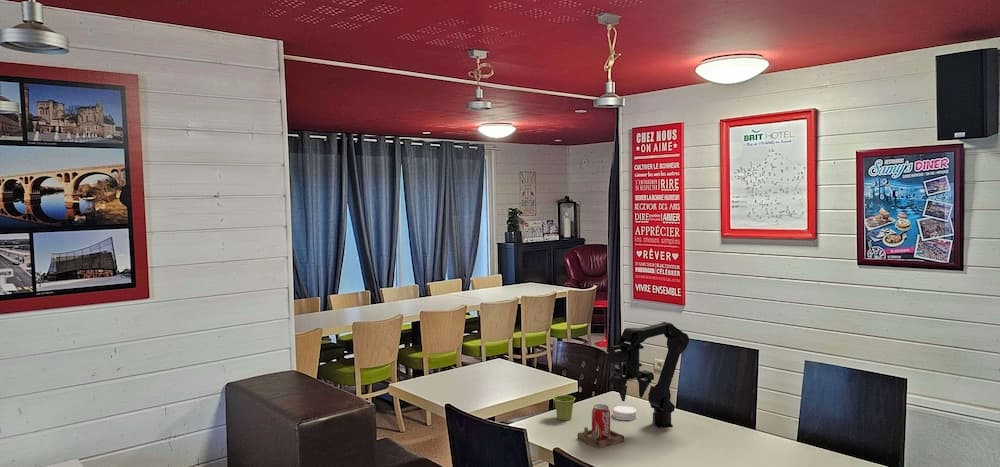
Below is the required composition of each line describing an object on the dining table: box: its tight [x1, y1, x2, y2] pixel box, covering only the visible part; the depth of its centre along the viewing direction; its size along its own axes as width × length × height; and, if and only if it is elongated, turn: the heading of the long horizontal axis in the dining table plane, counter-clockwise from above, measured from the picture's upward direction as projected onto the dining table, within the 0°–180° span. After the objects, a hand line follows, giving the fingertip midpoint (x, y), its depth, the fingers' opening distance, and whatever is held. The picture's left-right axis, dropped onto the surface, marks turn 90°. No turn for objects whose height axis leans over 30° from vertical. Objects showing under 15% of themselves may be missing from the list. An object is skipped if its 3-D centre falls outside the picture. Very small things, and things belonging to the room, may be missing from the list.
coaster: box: [612, 405, 638, 421], centre depth 271 cm, size 10×10×4 cm
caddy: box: [577, 426, 625, 449], centre depth 244 cm, size 13×12×5 cm
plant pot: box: [552, 394, 576, 421], centre depth 270 cm, size 9×9×9 cm
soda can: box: [591, 403, 611, 440], centre depth 244 cm, size 7×7×12 cm
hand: (632, 399), depth 253 cm, fingers open, 9 cm apart
